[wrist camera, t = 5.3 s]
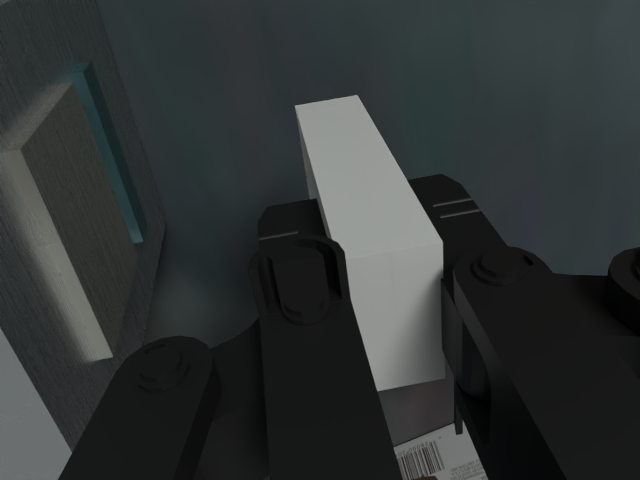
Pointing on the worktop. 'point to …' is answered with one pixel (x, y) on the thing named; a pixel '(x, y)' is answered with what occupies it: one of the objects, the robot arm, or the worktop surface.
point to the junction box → (66, 230)
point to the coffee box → (440, 457)
